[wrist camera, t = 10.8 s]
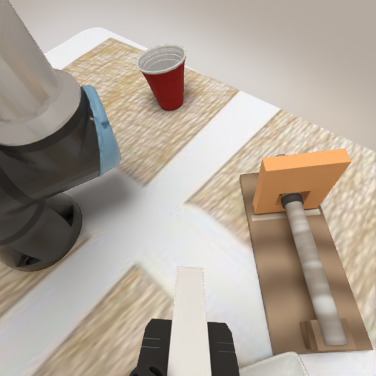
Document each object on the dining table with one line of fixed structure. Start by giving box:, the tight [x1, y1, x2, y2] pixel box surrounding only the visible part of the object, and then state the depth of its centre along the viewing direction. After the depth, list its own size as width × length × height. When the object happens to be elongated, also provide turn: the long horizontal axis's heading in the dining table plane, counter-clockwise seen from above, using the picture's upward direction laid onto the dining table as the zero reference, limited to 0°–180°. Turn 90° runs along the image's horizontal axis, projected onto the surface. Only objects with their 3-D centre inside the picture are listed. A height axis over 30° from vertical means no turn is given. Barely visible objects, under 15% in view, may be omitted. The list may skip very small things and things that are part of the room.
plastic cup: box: [136, 44, 186, 111], centre depth 56 cm, size 11×11×12 cm
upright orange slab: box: [253, 149, 351, 214], centre depth 36 cm, size 2×10×12 cm, turn 93°
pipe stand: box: [240, 154, 373, 355], centre depth 36 cm, size 28×12×8 cm, turn 3°
